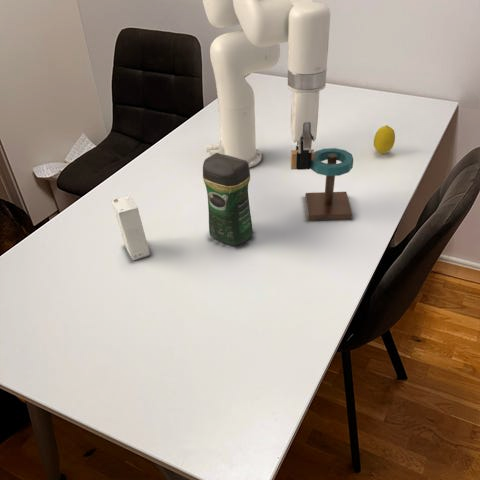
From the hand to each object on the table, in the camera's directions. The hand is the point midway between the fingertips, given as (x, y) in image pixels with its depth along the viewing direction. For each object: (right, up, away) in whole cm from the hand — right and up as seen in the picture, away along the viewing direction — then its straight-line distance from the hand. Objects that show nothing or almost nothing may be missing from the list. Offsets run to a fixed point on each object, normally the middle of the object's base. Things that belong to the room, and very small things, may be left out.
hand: (303, 165), depth 106 cm
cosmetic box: (-37, -19, 0) cm, 42 cm away
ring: (+4, 0, 0) cm, 4 cm away
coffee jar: (-16, -15, +2) cm, 23 cm away
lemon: (+26, +12, +26) cm, 38 cm away
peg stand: (+7, -8, +8) cm, 13 cm away
